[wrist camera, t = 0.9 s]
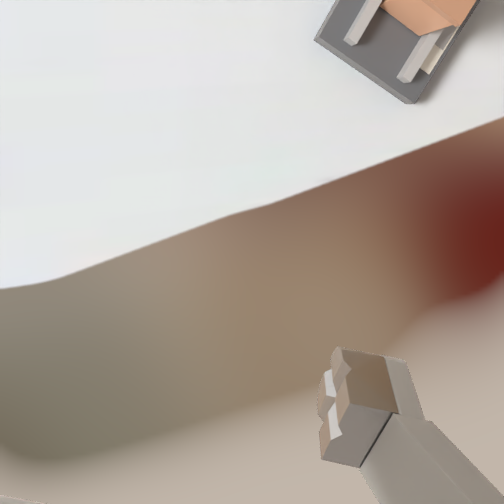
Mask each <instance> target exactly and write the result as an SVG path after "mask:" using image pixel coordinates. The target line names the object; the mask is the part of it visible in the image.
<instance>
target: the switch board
mask: <svg viewBox="0 0 504 504" xmlns="http://www.w3.org/2000/svg"><path fill="white" fill-rule="evenodd" d="M479 1H480V0H476V2H475V3H474V5H473V6H472V8H471V10H470V11H469V13H468V14H467V16H466V18H465V19H464V21H463V22H462V24H461V25H460V26H457V27H455V26H454V25H451V26H448V27H445V28H442V29H439V30H436V31H433V32H430V33H427V34H424V35H421V36H418V35H417V34H416V33H414V32H413V31H412V30H410V29H409V28H408V27H406V26H405V25H404V24H402V23H401V22H400V21H398V20H397V19H396V18H394V17H393V16H392V15H390V14H389V13H388V12H386V11H385V10H384V9H382V8H381V7H380V6H379V5H380V3H381V2H382V0H336V1H335V3H334V5H333V6H332V8H331V10H330V12H329V13H328V15H327V17H326V19H325V21H324V22H323V24H322V26H321V28H320V30H319V31H318V33H317V35H316V37H315V38H314V41H316V42H317V43H319V44H320V45H322V46H323V47H324V48H326V49H327V50H329V51H330V52H332V53H333V54H334V55H336V56H337V57H339V58H340V59H342V60H343V61H345V62H346V63H347V64H349V65H350V66H352V67H353V68H355V69H356V70H358V71H359V72H360V73H362V74H363V75H365V76H366V77H368V78H369V79H371V80H372V81H373V82H375V83H376V84H378V85H379V86H381V87H382V88H384V89H385V90H386V91H388V92H389V93H391V94H392V95H394V96H395V97H396V98H398V99H399V100H401V101H402V102H404V103H405V104H415V103H416V101H417V99H418V98H419V96H420V95H421V93H422V92H423V90H424V88H425V87H426V85H427V84H428V82H429V80H430V79H431V77H432V76H433V74H434V73H435V71H436V69H437V68H438V66H439V65H440V63H441V61H442V60H443V58H444V57H445V55H446V54H447V52H448V50H449V49H450V47H451V46H452V44H453V42H454V41H455V39H456V38H457V36H458V35H459V33H460V31H461V30H462V28H463V27H464V25H465V23H466V22H467V20H468V19H469V17H470V16H471V14H472V12H473V11H474V9H475V8H476V6H477V4H478V3H479Z"/></svg>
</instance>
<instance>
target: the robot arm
mask: <svg viewBox="0 0 504 504" xmlns="http://www.w3.org/2000/svg"><path fill="white" fill-rule="evenodd" d="M330 360H331V369H330V370H328V371H326V372H325V373H324V375H323V377H322V380H321V382H320V387H319V391H318V399H317V409H318V415H319V417H320V418H321V419H322V421H323V424H322V427H321V429H320V431H319V437H320V449H321V459H322V460H326V461H330V462H335V463H339V464H343V465H348V466H352V467H357V468H360V470H359V471H360V472H361V474H362V475H363V477H364V479H365V480H366V482H367V484H368V485H369V487H370V489H371V490H372V492H373V494H374V495H375V497H376V498H377V500H378V502H379V503H380V504H504V496H503V495H502V494H501V493H500V492H499V491H498V490H497V489H496V488H495V487H494V486H493V484H492V483H491V482H490V481H489V480H488V479H487V478H486V477H485V476H484V475H483V474H482V473H481V472H480V471H479V470H478V469H477V468H476V467H475V466H474V465H473V464H472V463H471V462H470V461H469V459H468V458H467V457H466V456H465V455H464V454H463V453H462V452H461V451H460V450H459V449H458V448H457V447H456V446H455V445H454V444H453V443H452V442H451V441H450V440H449V439H448V438H447V437H446V436H445V435H444V433H442V432H441V431H440V429H439V428H438V427H437V426H436V425H435V424H434V423H433V422H432V421H427V420H425V418H424V415H423V412H422V408H421V405H420V402H419V399H418V396H417V393H416V390H415V387H414V384H413V382H412V378H411V375H410V372H409V369H408V366H407V363H406V362H405V361H404V360H403V359H399V358H393V357H389V356H383V355H381V356H380V355H376V354H372V353H367V352H362V351H357V350H352V349H347V348H343V347H337V348H336V349H335V350H334V352H333V354H332V356H331V359H330ZM0 504H47V503H42V502H36V501H31V500H25V499H20V498H15V497H9V496H3V495H0Z"/></svg>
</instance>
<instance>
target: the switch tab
mask: <svg viewBox="0 0 504 504" xmlns="http://www.w3.org/2000/svg"><path fill="white" fill-rule="evenodd" d="M475 2H476V0H382V2H381V3H380V5H379V6H380V7H381V8H382V9H384V10H385V11H386V12H388V13H389V14H390V15H392V16H393V17H394V18H396V19H397V20H398V21H400V22H401V23H402V24H404V25H405V26H406V27H408V28H409V29H410V30H412V31H413V32H414V33H416V34H417V35H418V36H421V35H424V34H427V33H430V32H433V31H436V30H439V29H442V28H445V27H448V26H451V25H454V26H455V27H457V26H460V25H461V24H462V22H463V21H464V19H465V18H466V16H467V14H468V13H469V11H470V10H471V8H472V6H473V5H474V3H475Z"/></svg>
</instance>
